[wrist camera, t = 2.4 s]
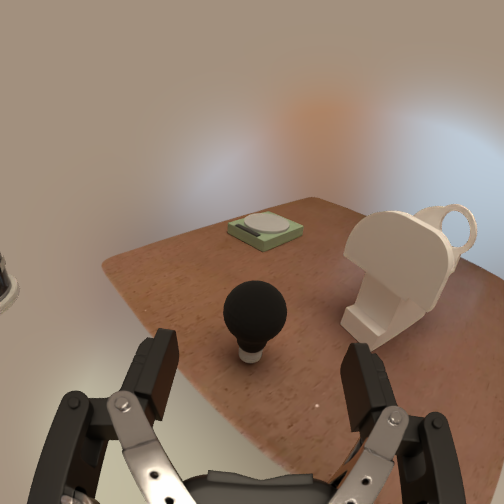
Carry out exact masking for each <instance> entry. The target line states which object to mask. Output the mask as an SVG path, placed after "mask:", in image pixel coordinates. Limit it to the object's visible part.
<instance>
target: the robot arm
mask: <svg viewBox="0 0 504 504" xmlns="http://www.w3.org/2000/svg"><path fill="white" fill-rule="evenodd" d="M5 264H6V262H5V259H4V257H2V256H1V253H0V302H1V301H2V300H3V299H4V298H5V297H6V296H7V295H8V293H9V292H10V290H11V286H12V283H11V280H10V278H9V276H8V274H7V271H6V268H5ZM178 362H179V349H178V342H177V336H176V331H175V330H169V329H162V328H159V329H158V330H157V333H156V335H155V337H154V338H148V337H147V338H146V339H145V340H144V341H143V342H142V343H141V344H140V345H139V347H138V349H137V352H136V355H135V356H134V358H133V362H132V363H131V365H130V368H129V370H128V372H127V375H126V377H125V379H124V382H123V384H122V387H121V389H120V390H119V391H118V392H115V393H113V394H112V395H111V396H110V397H108V398H88V397H87V396H86V395H85V394H84V393H83V392H81V391H71V392H68V393H67V394H65V395H64V397H63V398H62V400H61V403H60V405H59V407H58V410H57V412H56V415H55V417H54V420H53V422H52V425H51V428H50V430H49V433H48V435H47V438H46V441H45V444H44V446H43V450H42V452H41V455H40V459H39V462H38V465H37V468H36V471H35V475H34V478H33V482H32V485H31V489H30V493H29V497H28V502H27V504H100V503H99V502H98V501H97V500H95V494H96V490H97V486H98V481H99V477H100V472H101V468H102V464H103V460H104V456H105V452H106V448H107V444H108V441H109V440H119V441H120V443H121V446H122V449H123V450H122V453H123V456H124V459H125V461H126V463H127V465H128V467H129V469H130V472H131V474H132V475H133V478H134V480H135V481H136V484H137V485H138V487H139V489H140V491H141V493H142V495H143V497H144V498H145V500H146V502H147V504H373V503H374V501H375V499H376V498H377V496H378V494H379V493H380V491H381V489H382V487H383V486H384V484H385V482H386V480H387V478H388V476H389V474H390V472H391V470H392V468H393V466H394V461H393V457H394V455H397V462H398V469H399V476H400V484H401V493H402V503H403V504H466V499H465V493H464V487H463V481H462V476H461V471H460V467H459V462H458V458H457V454H456V450H455V446H454V442H453V438H452V435H451V431H450V428H449V424H448V421H447V419H446V417H445V416H444V415H443V414H441V413H439V412H431V413H429V414H428V415H427V416H426V417H425V418H424V417H416V416H410V415H408V414H407V413H406V411H405V410H404V409H402V408H401V407H398V406H397V403H396V400H395V397H394V394H393V391H392V388H391V385H390V382H389V379H388V376H387V373H386V372H385V367H384V364H383V361H382V360H381V359H380V358H379V357H378V355H377V354H376V353H375V354H371V352H370V349H369V346H368V344H367V343H351V344H350V346H349V348H348V350H347V353H346V355H345V357H344V359H343V361H342V364H341V369H340V374H341V379H342V384H343V389H344V394H345V399H346V404H347V410H348V415H349V420H350V426H351V432H358V431H359V432H360V437H359V439H358V440H357V442H356V444H355V445H354V447H353V448H352V450H351V452H350V453H349V455H348V456H347V458H346V459H345V461H344V462H343V464H342V465H341V467H340V468H339V469H338V470H337V472H336V473H335V474H334V475H333V476H332V477H331V479H330V480H329V481H328V483H327V482H324V481H322V480H318V479H314V478H313V474H292V475H284V476H280V477H275V478H270V479H265V480H258V479H254V478H250V477H247V476H243V475H240V474H237V473H231V472H221V471H213V470H208V474H207V475H199V476H195V477H192V478H189V479H187V480H185V481H182V479H181V478H180V476H179V474H178V473H177V471H176V470H175V468H174V466H173V465H172V463H171V461H170V460H169V458H168V456H167V454H166V453H165V451H164V449H163V447H162V445H161V443H160V442H159V440H158V438H157V436H156V434H155V432H154V430H153V424H154V421H155V420H158V421H162V419H163V415H164V412H165V408H166V404H167V401H168V397H169V394H170V390H171V387H172V383H173V380H174V376H175V373H176V369H177V366H178Z"/></svg>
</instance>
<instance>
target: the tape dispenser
mask: <svg viewBox="0 0 504 504" xmlns="http://www.w3.org/2000/svg"><path fill="white" fill-rule="evenodd" d="M451 211H458V212H461V213H462V214H463V215H464V216H465V217H466V218H467V220H468V222H469V225H470V237H469V240H468V241H467V243H466V244H465V245H464V246H463V247H459V248H457V247H453V246H451V244H450V242H449V240H448V239H447V237H446V236H445V235H444V234H443V233H442V228H441V227H442V221H443V219H444V217H445V216H446V214H447V213H449V212H451ZM476 236H477V224H476V221H475V218H474V216H473V215H472V213H471V212H470V211H469V210H468V209H467V208H466V207H464V206H462V205H459V204H451V205H447V206H445V207H443V206H434V207H428V208H425V209H422V210H421V211H419V212H418V213H416V214H415V215H414V216H412V215H410V214H407V213H404V212H400V211H384V212H377V213H373V214H371V215H368V216H367V217H365V218H364V219H362V220H361V221H360V222H359V223H358V224H357V225H356V226H355V227H354V229H353V230H352V232H351V234H350V235H349V238H348V240H347V243H346V246H345V250H344V254H343V256H345V257H346V258H348V259H349V260H350V261H352V262H353V263H355V264H356V265H357V266H359V267H360V268H362V269H363V270H364V271H366V272H365V275H364V278H363V281H362V284H361V287H360V290H359V293H358V296H357V299H356V302H355V304H353V305H351V306H349V307H346V309H345V312H344V315H343V317H342V320H341V323H340V325H342V326H343V327H344V328H345V329H346V330H347V331H348V332H349V333H350V334H351V335H352V336H353V337H354V338H355V339H356V340H357V341H358V342H359V343H367V344H368V346H369V349H370V352H372V351H373V350H375V349H376V348H378V347H380V346H381V345H383V344H384V343H386V342H387V341H389V340H390V339H392V338H394V337H395V336H397V335H398V334H400V333H401V332H402V331H404V330H405V329H407V328H408V327H410V326H411V325H413V324H414V323H415V322H417V321H418V320H419V319H421V318H422V317H424V315H425V313H426V312H430V311H431V310H432V309H433V308H434V307H435V305H436V303H437V301H438V299H439V297H440V295H441V293H442V291H443V288H444V286H445V284H446V282H447V280H448V277H449V275H450V274H451V273H453V272H454V271H455V268H456V266H457V263H458V261H459V259H460V256H461V254H462V253H464V252H466V251H468V250H469V249H470V248H471V247H472V246H473V244H474V242H475V240H476Z"/></svg>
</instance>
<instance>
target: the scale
mask: <svg viewBox="0 0 504 504" xmlns="http://www.w3.org/2000/svg"><path fill="white" fill-rule="evenodd" d="M303 227H304V226H302V225H300V224H298V223H295V222H293V221H291V220H288V219H286V218H283V217H281V216H279V215H276V214H274V213H271V212H269V211H268V212H264V213H259V214H252V215H249V216H247V217H246V218H243V219H240V220H236V221H233V222H230V223H228V233H229V234H231V235H233V236H234V237H236V238H238V239H240V240H242V241H244V242H246V243H247V244H249V245H251V246H253V247H255V248H257V249H258V250H260V251H262V252H265V251H267V250H269V249H272V248H274V247H276V246H279V245H281V244H283V243H286V242H288V241H290V240H293V239H295V238H297V237H300V236H302V233H303Z"/></svg>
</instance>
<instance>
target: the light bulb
mask: <svg viewBox="0 0 504 504" xmlns="http://www.w3.org/2000/svg"><path fill="white" fill-rule="evenodd" d="M223 315H224V321H225V324H226V326H227V327H228V329H229V331H230V332H231V333H232V334H233V335H234V336H235V337H236V338H237V343H238V345H239V357H240V358H241V359H242V360H243V361H244V362H247V363H255V362H257V361H259V360H260V358H261V356H262V351H263V348H264V347H265V345H266V343H267V341H269V340H270V339H272V338H274V337H275V336H276V335H277V334H278V333H279V332H280V331H281V330H282V328H283V326H284V324H285V321H286V317H287V308H286V303H285V300H284V298H283V296H282V294H281V293H280V292H279V291H278V290H277V289H276V288H275V287H274V286H272V285H271V284H269V283H266V282H263V281H247V282H244V283H242V284H240V285H238V286H237V287H235V288H234V289H233V290H232V291H231V292H230V294H229V295H228V296H227V298H226V301H225V303H224V310H223Z"/></svg>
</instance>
